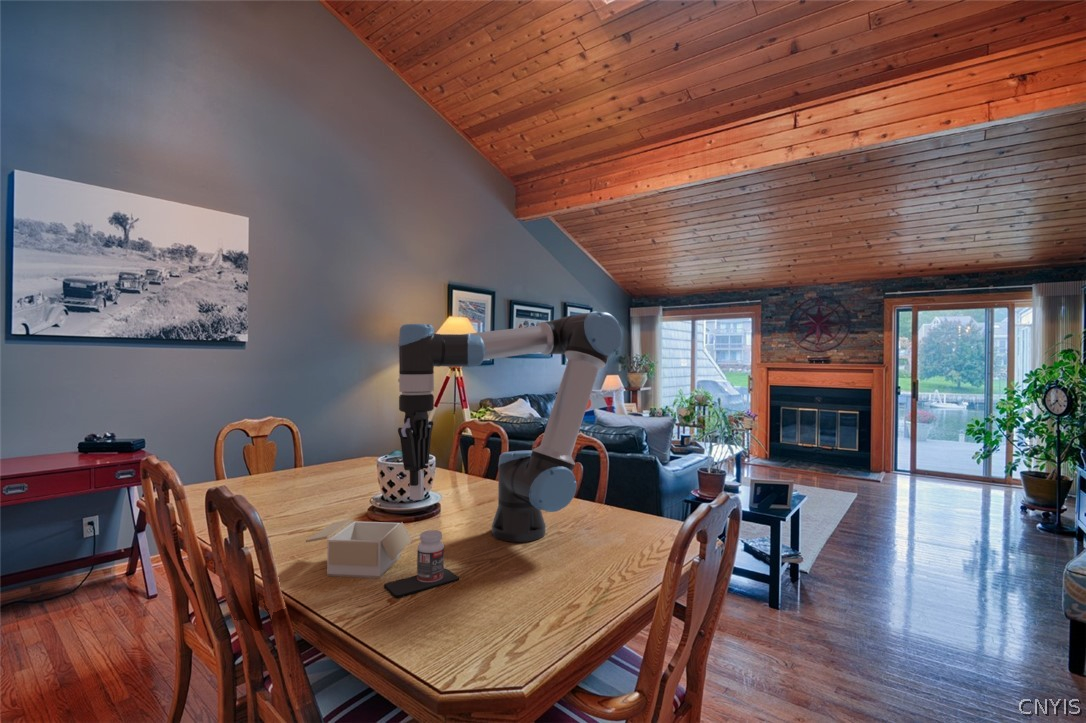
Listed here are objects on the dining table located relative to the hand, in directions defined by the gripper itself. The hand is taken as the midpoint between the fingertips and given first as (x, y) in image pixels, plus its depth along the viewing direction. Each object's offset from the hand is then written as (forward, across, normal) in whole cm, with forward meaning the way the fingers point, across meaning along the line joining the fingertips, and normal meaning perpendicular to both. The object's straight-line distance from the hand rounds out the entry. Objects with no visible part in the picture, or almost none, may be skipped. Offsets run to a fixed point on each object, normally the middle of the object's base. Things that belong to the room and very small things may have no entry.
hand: (416, 498), depth 110 cm
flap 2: (+9, -3, -8) cm, 12 cm away
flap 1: (+8, -2, -20) cm, 22 cm away
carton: (+17, -2, -14) cm, 22 cm away
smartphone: (+18, +3, +3) cm, 18 cm away
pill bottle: (+17, +1, +4) cm, 18 cm away
